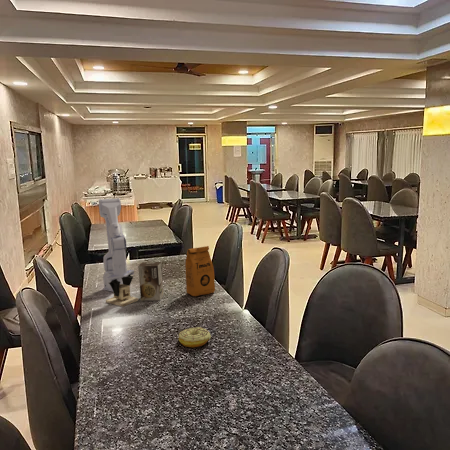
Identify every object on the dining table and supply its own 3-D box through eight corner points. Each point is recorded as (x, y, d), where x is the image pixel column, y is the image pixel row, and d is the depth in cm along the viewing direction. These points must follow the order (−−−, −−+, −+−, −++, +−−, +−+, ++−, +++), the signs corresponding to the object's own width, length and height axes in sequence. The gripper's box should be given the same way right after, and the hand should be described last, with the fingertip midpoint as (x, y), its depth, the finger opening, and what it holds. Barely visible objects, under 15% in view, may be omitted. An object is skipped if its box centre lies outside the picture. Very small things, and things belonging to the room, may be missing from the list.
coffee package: (217, 294, 187) (216, 247, 183) (192, 299, 181) (190, 250, 177) (208, 288, 195) (206, 243, 192) (184, 292, 190) (182, 246, 186)
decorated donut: (216, 341, 140) (216, 330, 139) (193, 352, 132) (193, 341, 131) (196, 332, 147) (195, 322, 146) (172, 342, 139) (172, 332, 138)
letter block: (113, 297, 180) (113, 286, 179) (122, 294, 184) (121, 283, 183) (122, 299, 177) (121, 288, 176) (130, 296, 181) (129, 285, 180)
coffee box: (163, 296, 186) (161, 261, 184) (160, 300, 180) (158, 265, 177) (144, 295, 187) (142, 261, 185) (140, 300, 181) (137, 265, 178)
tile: (105, 302, 180) (105, 300, 180) (121, 296, 187) (121, 294, 187) (123, 306, 174) (123, 304, 174) (138, 300, 181) (138, 298, 181)
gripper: (112, 269, 170) (115, 300, 172) (138, 261, 182) (140, 290, 184) (101, 267, 174) (104, 297, 176) (127, 259, 186) (129, 288, 188)
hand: (121, 293), depth 180 cm, fingers closed on letter block, 5 cm apart
